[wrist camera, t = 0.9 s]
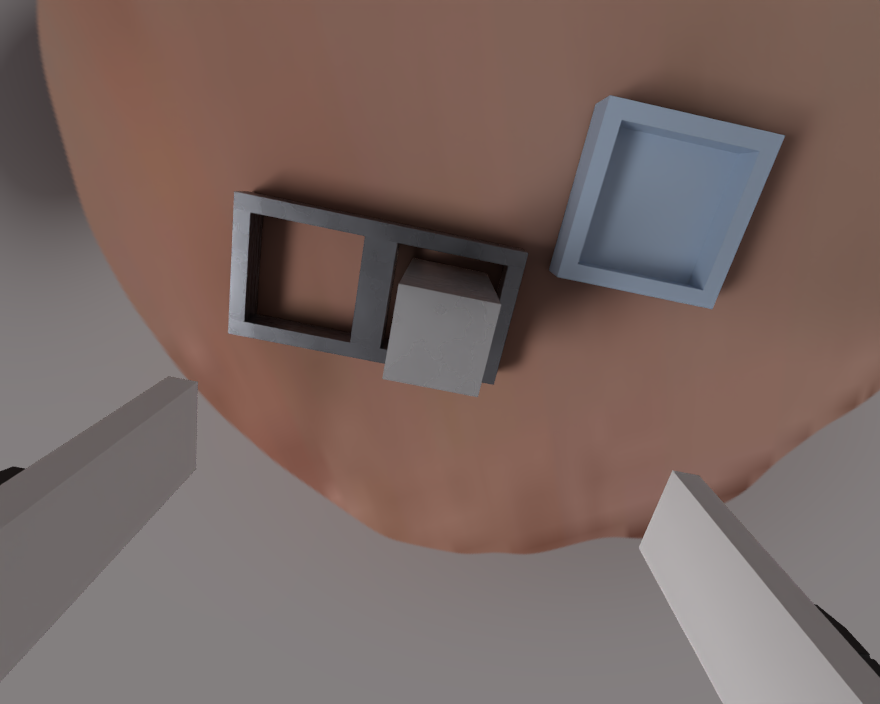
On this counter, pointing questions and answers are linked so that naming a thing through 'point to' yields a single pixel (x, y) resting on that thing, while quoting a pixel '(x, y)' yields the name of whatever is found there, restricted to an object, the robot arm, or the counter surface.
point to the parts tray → (661, 201)
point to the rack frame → (372, 279)
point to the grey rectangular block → (442, 327)
